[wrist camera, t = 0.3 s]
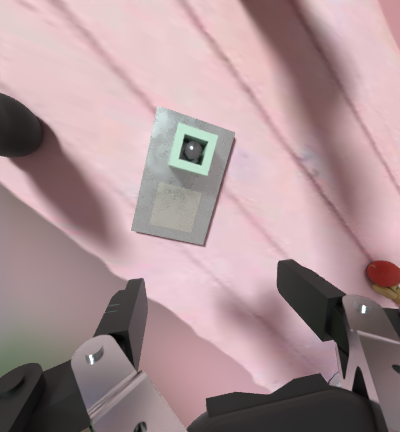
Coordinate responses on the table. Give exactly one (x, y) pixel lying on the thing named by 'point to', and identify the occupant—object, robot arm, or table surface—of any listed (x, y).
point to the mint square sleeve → (203, 138)
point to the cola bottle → (17, 128)
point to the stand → (179, 182)
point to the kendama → (385, 279)
